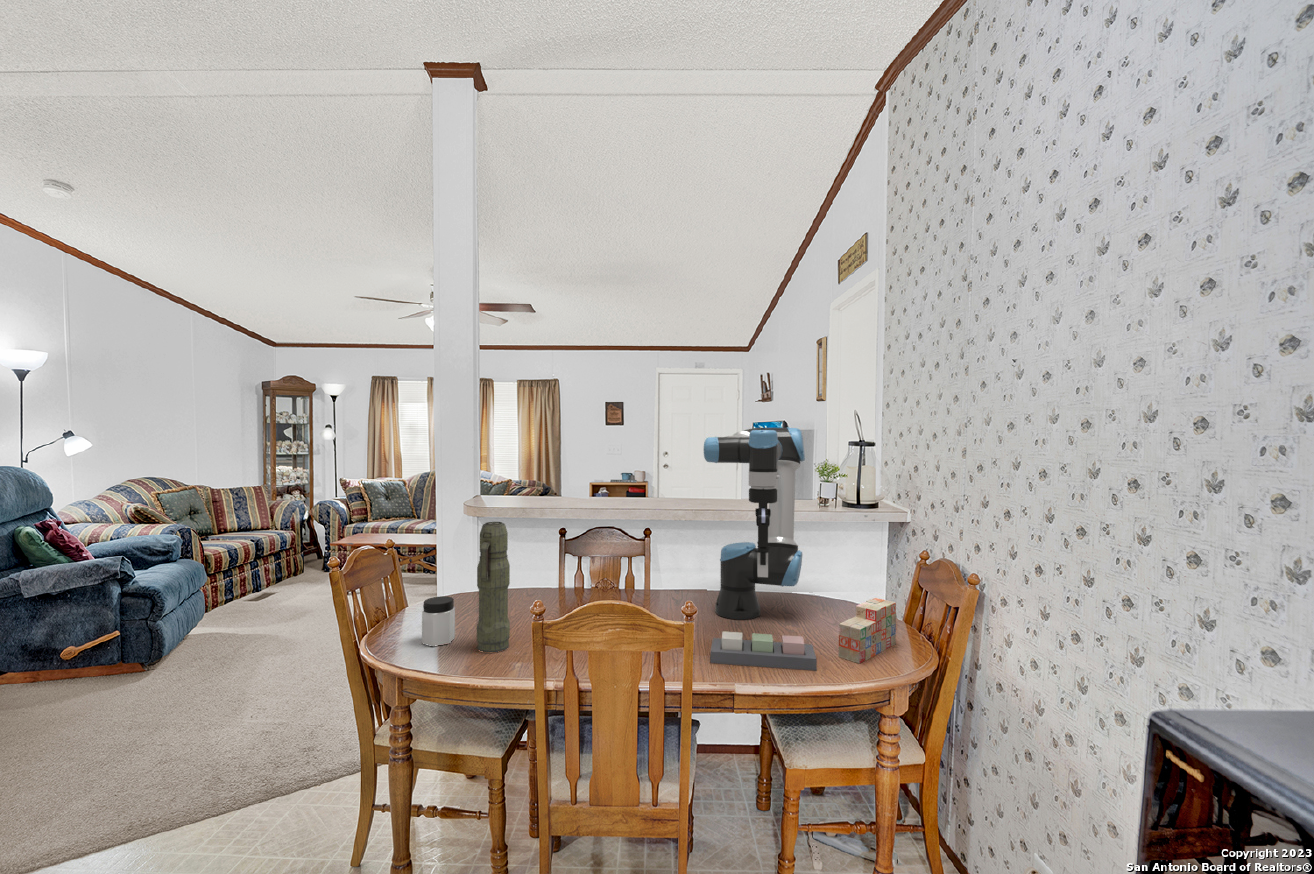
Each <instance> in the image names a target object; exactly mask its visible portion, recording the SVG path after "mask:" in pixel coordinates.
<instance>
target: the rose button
mask: <svg viewBox="0 0 1314 874" xmlns="http://www.w3.org/2000/svg"><path fill="white" fill-rule="evenodd" d="M804 640H805V639H804V637H803V636H801V635H788V634H787V635H785V634H782V635H781V642H782V654H796V655H804V644H805V641H804Z"/></svg>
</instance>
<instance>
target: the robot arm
mask: <svg viewBox="0 0 1314 874" xmlns="http://www.w3.org/2000/svg"><path fill="white" fill-rule="evenodd" d="M804 446H805V445H804V439H803V434H802V430H801V429H800V428H797V427H788V426H787V427H752V428H748V429H744V430H739V431H737V432H735V433H734V434H732V435H728V436H713V437H712V436H709V437H706V439H704V443H703V457H704V460H705V461H706V462H707V463H714V464H748V467H749V468H748V486H749V489H748V501H749V502H750V503H751V504H758V508H755V510H754V511H755V517H756V519H755V520H756V522H755V523H756V527H757V541H756V543H757V545H756V543H754V542H749V541H748V542H747V541H746V542H745V541H744V542H735V543H730V544H725V545H724V546H723V547H722V548H721V550H720V559H719V562H720V587H719V589H720V590H719V593H718V596H717V599H716V602H715V606H714V607H715V608H714V610H715V614H716V615H717V616H720V617H722V618H724V619H725V618H726V619H729V620H743V621H744V620H752V619H756V618H758V617H760V615H761V605H760V602H759V598H758V595H757V593H756V585H757V584H758V585H767V586H780V587H783V588H784V587H795V586H797V584H798V583H799V579H800V577H801V570H802V565H803V551H802V550H799V545H798V544H797V543H796V541H795V540H794V536H795V535H794V534H795V531H794V530H795V503H796V501H795V499H796V498H795V497H796V471H797V470H798V469H799V468H800V467H801V462H804V461H805V459H806V456H805V448H804Z"/></svg>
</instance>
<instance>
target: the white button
mask: <svg viewBox="0 0 1314 874" xmlns="http://www.w3.org/2000/svg"><path fill="white" fill-rule="evenodd" d="M721 633H722V635H721V638H722V649H723V650H738V651H742V640H743V632H738V631H724V630H723V631H722V632H721Z"/></svg>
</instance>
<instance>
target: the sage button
mask: <svg viewBox="0 0 1314 874" xmlns="http://www.w3.org/2000/svg"><path fill="white" fill-rule="evenodd" d="M751 640H752V652H767V653H773V642H774V639H773V634H770V633H768V634H767V633H757V632H756V633H754V632H753V633H751Z"/></svg>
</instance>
